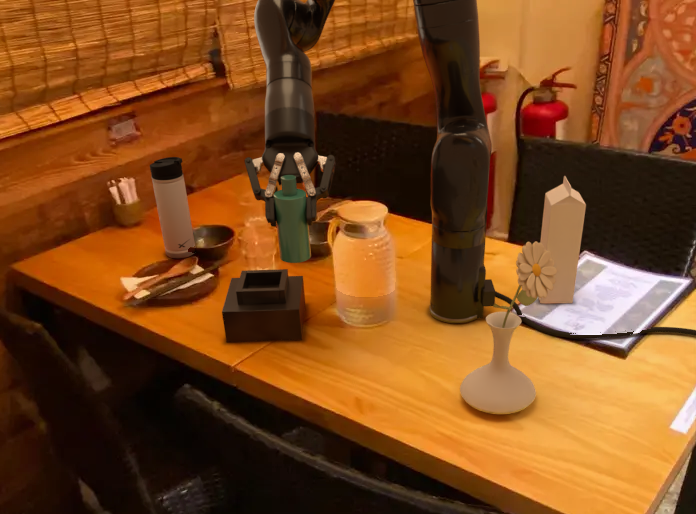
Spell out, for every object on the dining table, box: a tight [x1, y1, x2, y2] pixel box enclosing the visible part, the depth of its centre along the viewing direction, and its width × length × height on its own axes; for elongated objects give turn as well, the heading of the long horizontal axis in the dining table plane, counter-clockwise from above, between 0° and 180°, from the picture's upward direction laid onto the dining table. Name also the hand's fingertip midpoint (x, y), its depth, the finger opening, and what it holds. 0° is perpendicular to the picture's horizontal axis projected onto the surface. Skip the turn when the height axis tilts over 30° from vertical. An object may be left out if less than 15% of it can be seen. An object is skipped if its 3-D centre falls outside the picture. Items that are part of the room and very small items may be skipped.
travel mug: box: [149, 156, 196, 259], centre depth 160 cm, size 6×7×20 cm
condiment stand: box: [221, 268, 306, 343], centre depth 137 cm, size 13×13×8 cm
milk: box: [537, 175, 587, 304], centre depth 140 cm, size 6×6×22 cm
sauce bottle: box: [274, 175, 312, 264], centre depth 117 cm, size 5×5×12 cm
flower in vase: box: [459, 241, 557, 415], centre depth 112 cm, size 13×11×25 cm
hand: (291, 223), depth 116 cm, fingers closed on sauce bottle, 5 cm apart
